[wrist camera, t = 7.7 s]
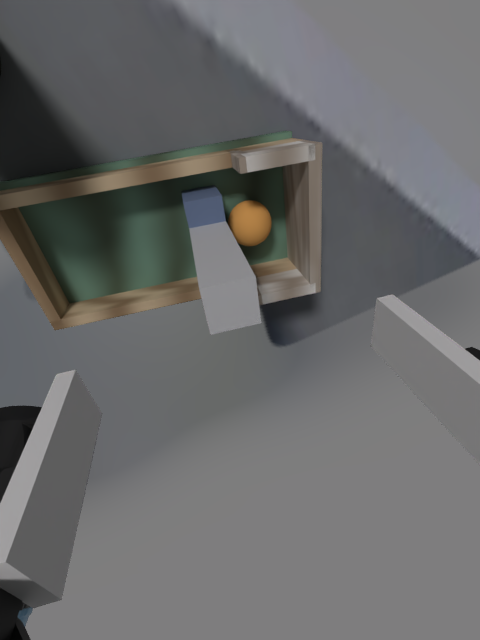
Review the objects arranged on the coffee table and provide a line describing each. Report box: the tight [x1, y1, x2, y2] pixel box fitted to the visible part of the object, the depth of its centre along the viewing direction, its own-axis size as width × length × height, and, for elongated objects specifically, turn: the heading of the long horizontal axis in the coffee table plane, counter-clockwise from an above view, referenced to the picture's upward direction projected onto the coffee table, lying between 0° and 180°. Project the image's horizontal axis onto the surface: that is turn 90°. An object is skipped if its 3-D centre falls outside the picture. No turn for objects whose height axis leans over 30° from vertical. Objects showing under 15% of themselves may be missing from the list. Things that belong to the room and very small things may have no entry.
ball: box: [228, 200, 272, 246], centre depth 28 cm, size 4×4×4 cm
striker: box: [181, 185, 261, 334], centre depth 23 cm, size 3×7×15 cm, turn 8°
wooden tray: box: [0, 131, 322, 330], centre depth 27 cm, size 25×13×8 cm, turn 98°
